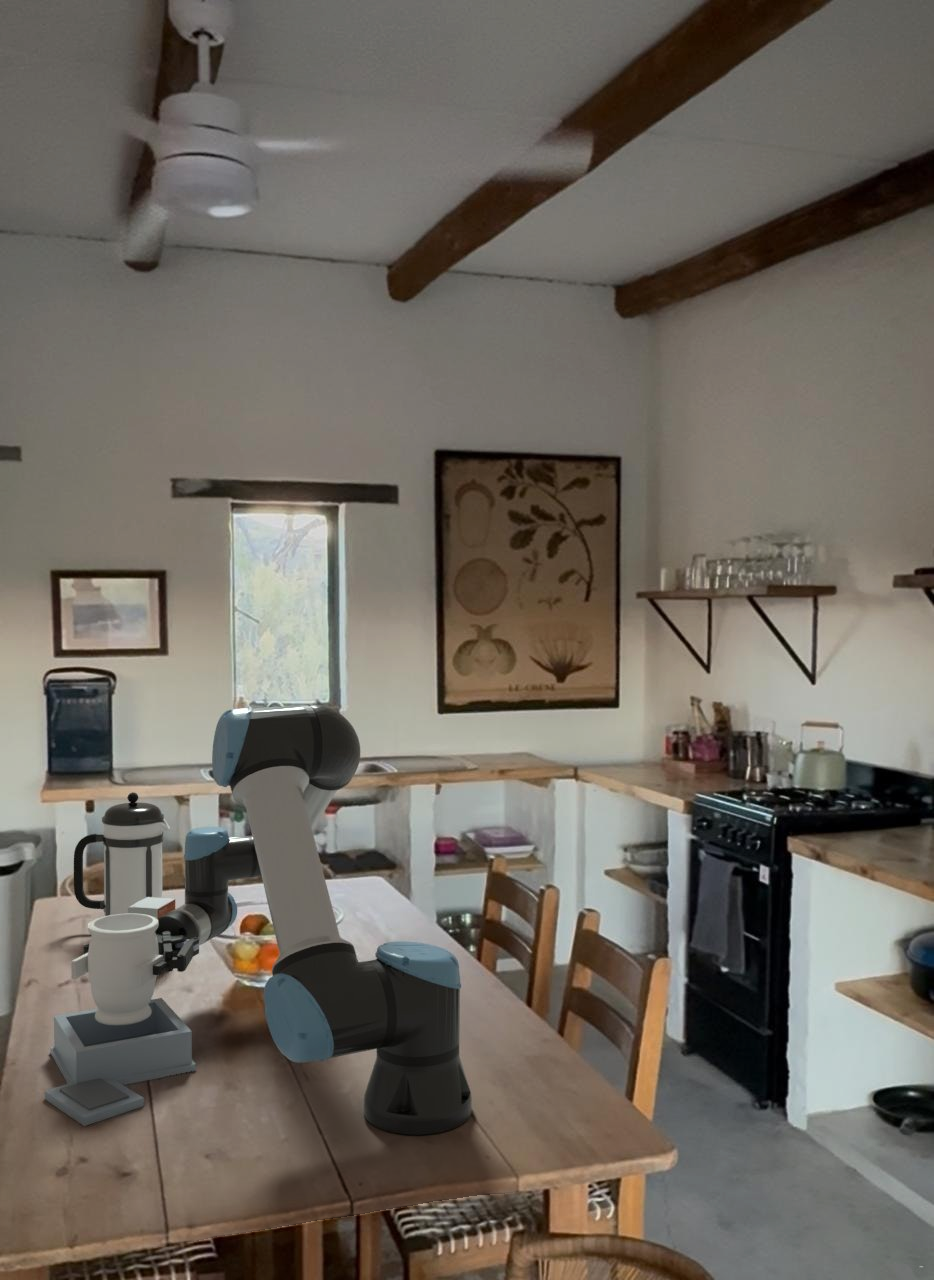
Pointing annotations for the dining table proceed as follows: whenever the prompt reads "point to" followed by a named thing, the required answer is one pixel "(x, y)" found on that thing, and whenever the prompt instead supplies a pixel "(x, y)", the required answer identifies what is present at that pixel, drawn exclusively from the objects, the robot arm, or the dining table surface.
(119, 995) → the jar
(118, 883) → the coffee press
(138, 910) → the small box
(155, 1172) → the dining table surface
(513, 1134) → the dining table surface
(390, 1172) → the dining table surface
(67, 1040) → the housing
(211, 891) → the robot arm
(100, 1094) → the lid
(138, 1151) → the dining table surface
